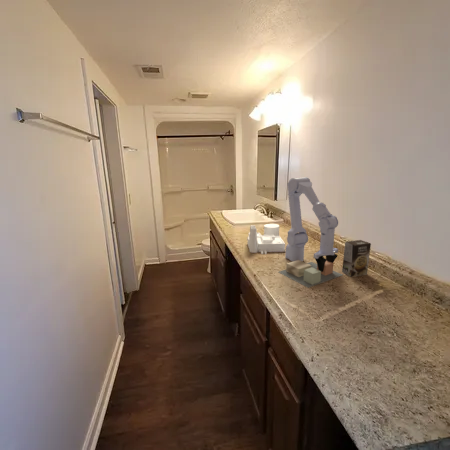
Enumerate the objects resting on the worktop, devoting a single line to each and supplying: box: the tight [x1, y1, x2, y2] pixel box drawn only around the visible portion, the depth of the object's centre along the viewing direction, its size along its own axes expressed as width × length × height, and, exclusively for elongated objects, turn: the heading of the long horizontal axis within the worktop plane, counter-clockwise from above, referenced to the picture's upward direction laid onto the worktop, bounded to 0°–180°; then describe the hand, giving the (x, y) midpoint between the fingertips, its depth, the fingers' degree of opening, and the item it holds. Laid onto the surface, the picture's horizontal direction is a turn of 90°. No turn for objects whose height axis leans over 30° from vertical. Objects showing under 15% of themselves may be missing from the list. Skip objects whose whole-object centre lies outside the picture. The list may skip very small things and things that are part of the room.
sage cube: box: [304, 268, 321, 285], centre depth 116 cm, size 5×5×5 cm
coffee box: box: [341, 239, 372, 278], centre depth 122 cm, size 9×6×16 cm
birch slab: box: [285, 260, 311, 277], centre depth 126 cm, size 8×8×4 cm
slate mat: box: [278, 261, 344, 289], centre depth 125 cm, size 19×23×1 cm
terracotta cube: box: [317, 260, 334, 276], centre depth 125 cm, size 5×5×5 cm
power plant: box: [246, 223, 286, 255], centre depth 169 cm, size 35×24×15 cm
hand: (324, 269), depth 125 cm, fingers closed on terracotta cube, 5 cm apart
